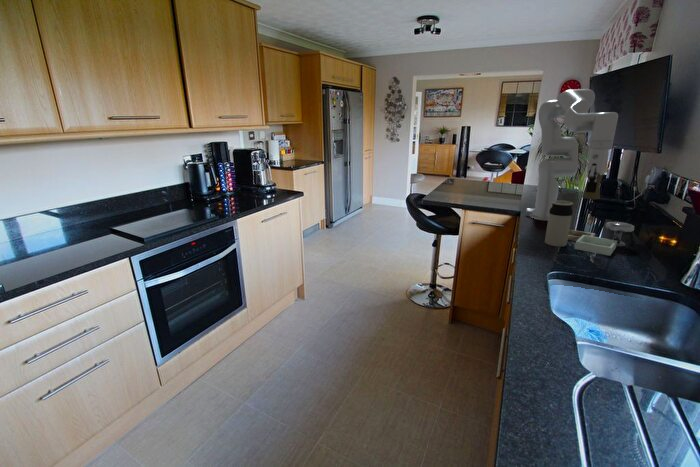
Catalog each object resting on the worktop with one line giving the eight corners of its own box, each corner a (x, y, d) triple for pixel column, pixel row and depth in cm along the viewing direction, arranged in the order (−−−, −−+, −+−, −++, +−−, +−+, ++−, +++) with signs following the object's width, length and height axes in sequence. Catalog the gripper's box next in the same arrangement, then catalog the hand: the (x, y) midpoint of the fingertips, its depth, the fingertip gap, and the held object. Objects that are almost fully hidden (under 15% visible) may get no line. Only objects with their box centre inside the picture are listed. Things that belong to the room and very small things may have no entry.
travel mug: (569, 247, 134) (577, 204, 129) (548, 246, 136) (555, 204, 130) (562, 241, 142) (569, 200, 136) (541, 240, 143) (548, 200, 138)
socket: (561, 238, 145) (562, 234, 144) (568, 233, 151) (569, 229, 151) (589, 243, 138) (590, 239, 137) (594, 238, 144) (595, 233, 144)
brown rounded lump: (594, 196, 139) (599, 170, 135) (603, 199, 133) (608, 171, 130) (578, 196, 139) (583, 170, 136) (587, 199, 133) (592, 171, 130)
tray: (574, 248, 133) (575, 241, 132) (581, 241, 140) (583, 234, 139) (610, 255, 125) (611, 248, 124) (615, 247, 132) (617, 240, 131)
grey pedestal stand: (600, 244, 136) (604, 224, 134) (604, 239, 142) (608, 220, 140) (627, 249, 130) (632, 228, 128) (631, 243, 136) (636, 223, 134)
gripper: (608, 146, 122) (598, 195, 127) (616, 144, 133) (607, 189, 138) (584, 146, 127) (575, 193, 132) (593, 144, 138) (585, 188, 143)
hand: (591, 190), depth 135 cm, fingers closed on brown rounded lump, 4 cm apart
